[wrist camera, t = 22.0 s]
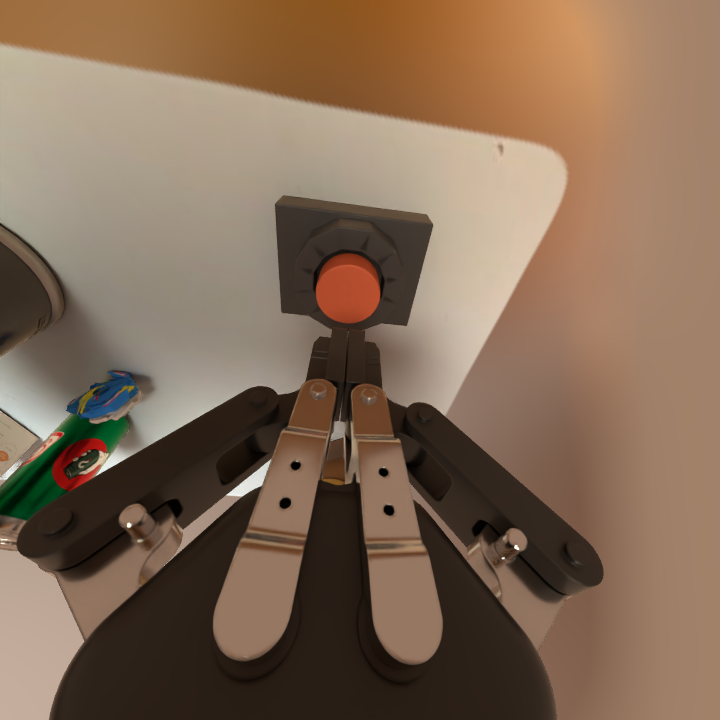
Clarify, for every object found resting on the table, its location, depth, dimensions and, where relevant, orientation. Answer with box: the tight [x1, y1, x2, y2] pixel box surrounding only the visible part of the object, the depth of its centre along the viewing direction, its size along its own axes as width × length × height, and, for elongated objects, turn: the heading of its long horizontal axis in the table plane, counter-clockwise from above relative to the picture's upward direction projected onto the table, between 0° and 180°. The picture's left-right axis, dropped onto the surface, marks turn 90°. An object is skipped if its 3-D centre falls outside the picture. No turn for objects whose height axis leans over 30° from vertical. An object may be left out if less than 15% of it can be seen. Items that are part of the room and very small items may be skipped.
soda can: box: [0, 413, 129, 551], centre depth 27 cm, size 5×5×12 cm
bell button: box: [316, 253, 380, 323], centre depth 17 cm, size 4×4×2 cm
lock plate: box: [323, 438, 345, 482], centre depth 37 cm, size 10×9×3 cm
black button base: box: [275, 196, 433, 331], centre depth 19 cm, size 9×7×4 cm
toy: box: [66, 372, 142, 424], centre depth 26 cm, size 5×4×5 cm
